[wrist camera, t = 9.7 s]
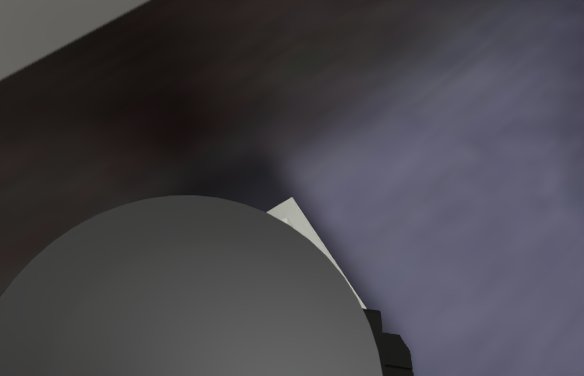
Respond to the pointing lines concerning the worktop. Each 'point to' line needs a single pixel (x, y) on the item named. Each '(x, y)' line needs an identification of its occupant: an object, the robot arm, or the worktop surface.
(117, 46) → the worktop surface
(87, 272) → the jar
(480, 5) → the worktop surface
